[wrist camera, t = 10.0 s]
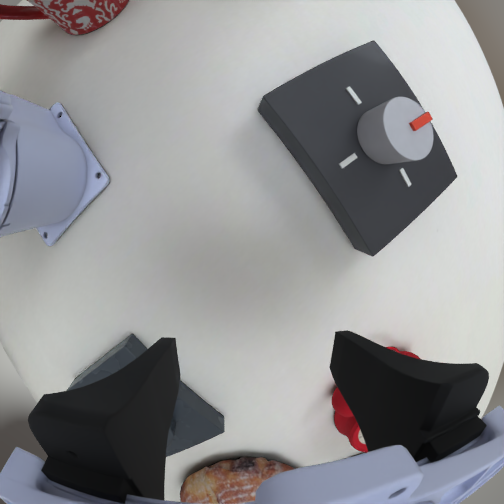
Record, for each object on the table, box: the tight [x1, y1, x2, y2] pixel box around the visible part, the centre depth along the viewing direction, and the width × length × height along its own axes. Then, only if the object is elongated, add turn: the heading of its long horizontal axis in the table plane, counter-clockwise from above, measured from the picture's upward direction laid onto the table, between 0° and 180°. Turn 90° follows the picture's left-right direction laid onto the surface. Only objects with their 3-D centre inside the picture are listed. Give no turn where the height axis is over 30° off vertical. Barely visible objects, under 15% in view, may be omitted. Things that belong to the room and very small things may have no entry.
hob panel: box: [258, 41, 457, 257], centre depth 18 cm, size 13×11×3 cm
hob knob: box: [357, 97, 433, 164], centre depth 14 cm, size 4×4×4 cm
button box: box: [67, 334, 224, 457], centre depth 20 cm, size 12×10×4 cm
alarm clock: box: [332, 347, 420, 453], centre depth 22 cm, size 10×6×15 cm
